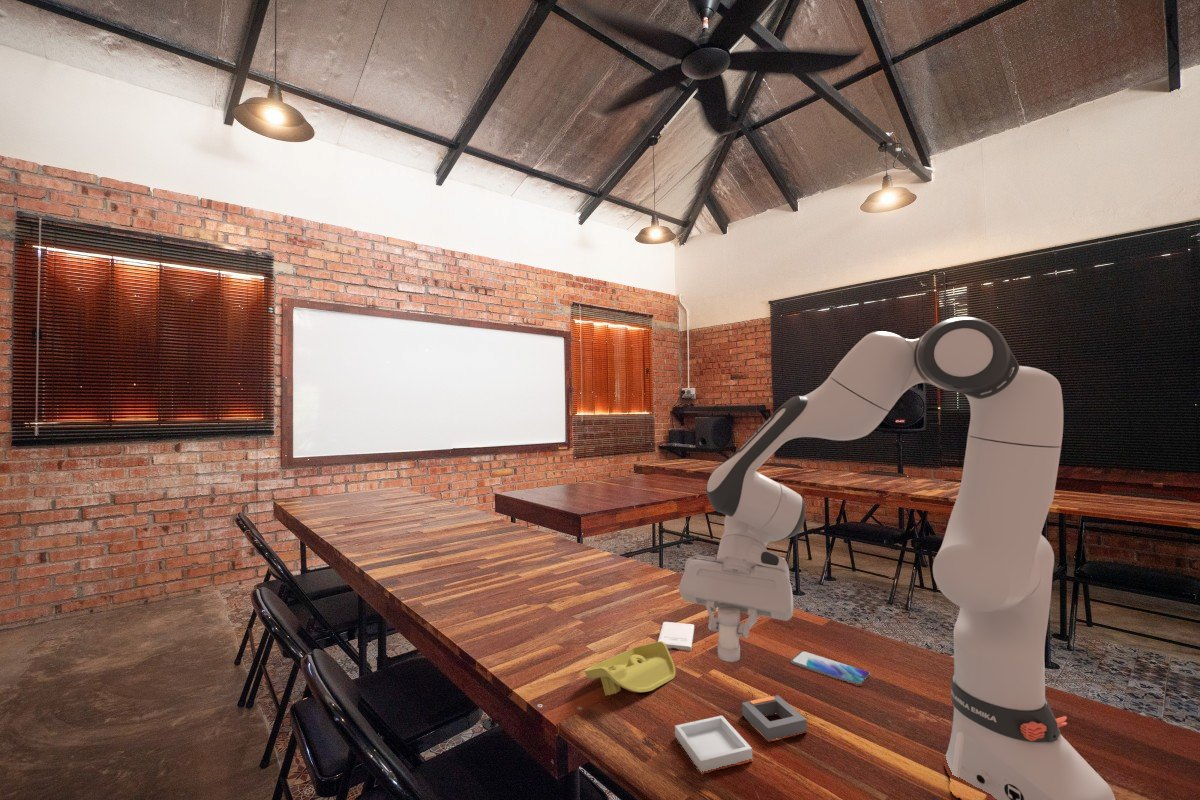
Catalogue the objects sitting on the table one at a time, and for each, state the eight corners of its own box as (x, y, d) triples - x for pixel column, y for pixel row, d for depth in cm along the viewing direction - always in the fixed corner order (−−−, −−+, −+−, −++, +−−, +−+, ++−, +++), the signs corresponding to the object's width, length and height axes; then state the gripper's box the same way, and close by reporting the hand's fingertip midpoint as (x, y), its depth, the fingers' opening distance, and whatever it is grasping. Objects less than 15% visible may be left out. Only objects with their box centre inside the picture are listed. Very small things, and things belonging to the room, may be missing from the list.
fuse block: (806, 733, 91) (806, 718, 91) (768, 742, 88) (767, 727, 88) (778, 708, 98) (778, 694, 98) (742, 716, 96) (741, 701, 96)
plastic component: (635, 646, 119) (667, 639, 113) (645, 681, 117) (679, 675, 111) (574, 673, 105) (607, 666, 99) (584, 713, 102) (619, 708, 96)
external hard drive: (694, 630, 134) (691, 653, 122) (663, 627, 136) (656, 649, 124) (694, 624, 134) (691, 646, 122) (663, 621, 136) (656, 642, 124)
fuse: (744, 659, 88) (744, 613, 88) (724, 663, 87) (724, 616, 87) (732, 649, 92) (732, 605, 92) (713, 652, 91) (713, 607, 91)
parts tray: (752, 761, 84) (752, 748, 84) (701, 774, 81) (700, 760, 81) (722, 727, 93) (722, 715, 93) (675, 738, 90) (674, 725, 90)
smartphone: (801, 650, 121) (871, 671, 110) (801, 653, 121) (871, 676, 110) (789, 660, 115) (861, 684, 105) (789, 664, 115) (861, 689, 105)
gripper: (684, 545, 101) (666, 613, 92) (794, 560, 91) (786, 637, 82) (691, 561, 105) (675, 628, 96) (798, 577, 95) (790, 653, 86)
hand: (727, 632), depth 89 cm, fingers closed on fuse, 4 cm apart
